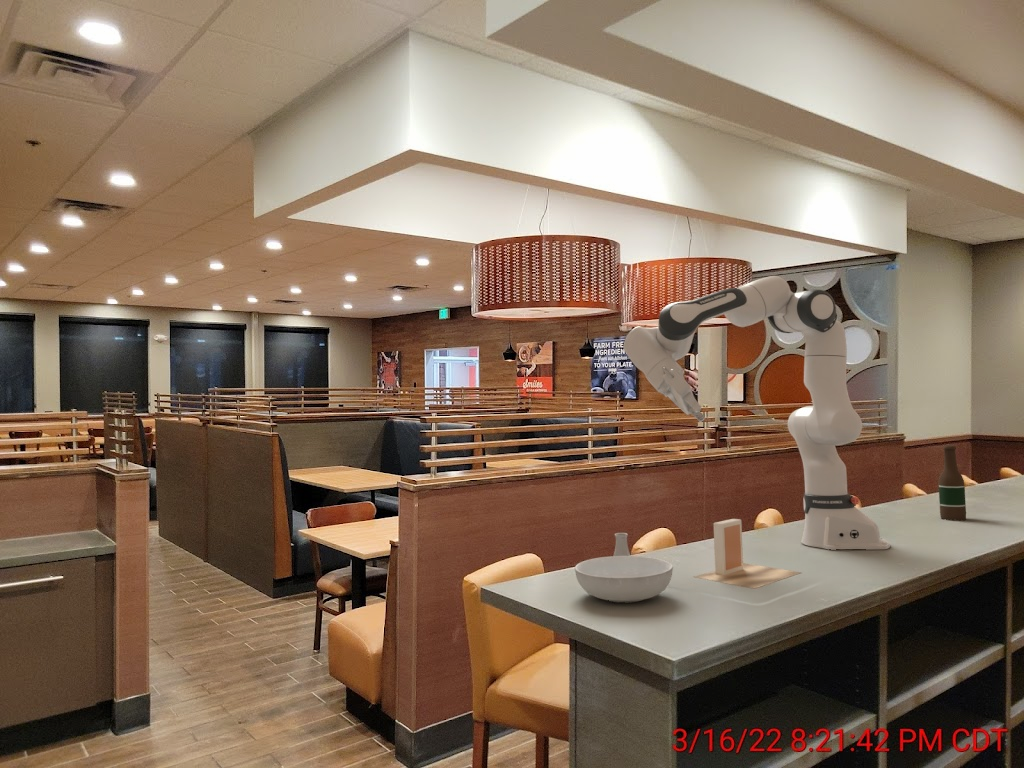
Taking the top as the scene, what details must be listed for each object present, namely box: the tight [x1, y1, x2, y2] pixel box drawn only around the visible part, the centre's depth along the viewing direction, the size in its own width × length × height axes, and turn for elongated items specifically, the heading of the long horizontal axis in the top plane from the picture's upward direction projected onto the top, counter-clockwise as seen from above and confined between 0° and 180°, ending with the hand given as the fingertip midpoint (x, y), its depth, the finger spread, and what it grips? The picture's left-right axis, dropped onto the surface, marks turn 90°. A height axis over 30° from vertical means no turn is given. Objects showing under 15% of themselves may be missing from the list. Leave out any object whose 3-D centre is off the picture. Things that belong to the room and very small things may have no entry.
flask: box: [613, 532, 632, 556], centre depth 179 cm, size 7×7×10 cm
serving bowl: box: [574, 555, 674, 604], centre depth 159 cm, size 21×21×7 cm
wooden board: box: [694, 562, 802, 589], centre depth 173 cm, size 16×20×1 cm
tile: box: [713, 518, 744, 575], centre depth 177 cm, size 2×8×12 cm, turn 130°
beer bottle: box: [938, 444, 967, 522], centre depth 243 cm, size 8×8×24 cm
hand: (701, 415), depth 189 cm, fingers open, 8 cm apart
